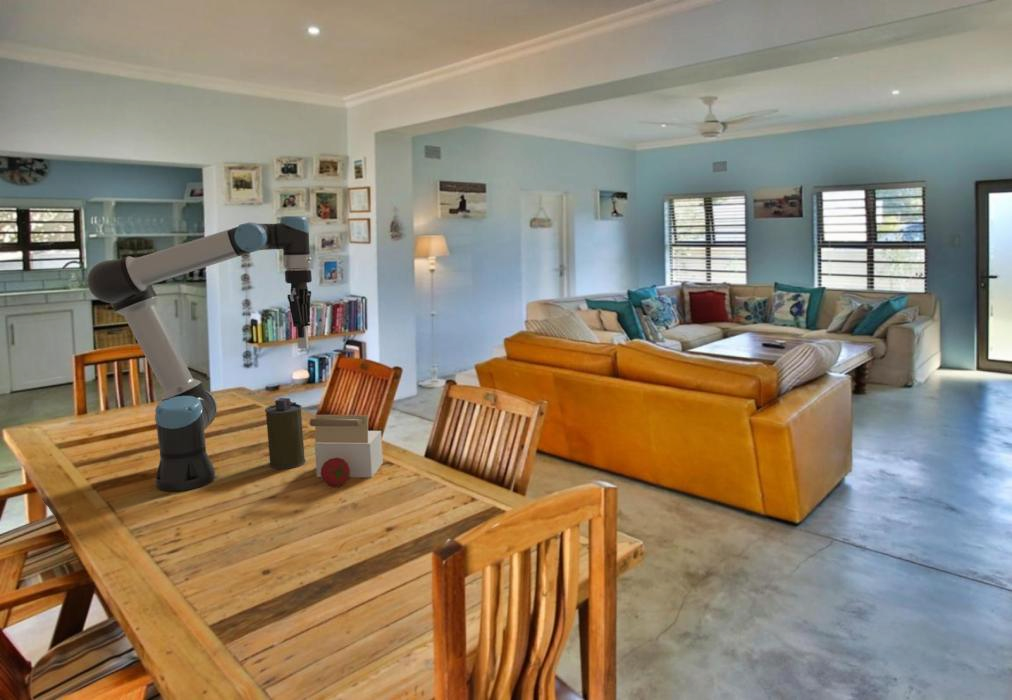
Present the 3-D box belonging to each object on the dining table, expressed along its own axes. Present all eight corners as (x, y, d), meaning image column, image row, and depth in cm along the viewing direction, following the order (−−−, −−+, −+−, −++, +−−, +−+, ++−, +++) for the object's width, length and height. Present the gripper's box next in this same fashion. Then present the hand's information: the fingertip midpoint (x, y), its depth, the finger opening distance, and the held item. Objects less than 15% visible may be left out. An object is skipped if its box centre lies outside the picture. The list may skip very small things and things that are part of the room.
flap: (316, 442, 189) (306, 445, 181) (316, 414, 189) (306, 417, 181) (368, 442, 187) (360, 446, 180) (368, 415, 187) (360, 417, 180)
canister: (294, 470, 196) (289, 404, 192) (262, 468, 198) (257, 403, 194) (312, 457, 206) (307, 395, 203) (281, 456, 209) (276, 394, 205)
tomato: (327, 451, 186) (335, 453, 179) (350, 464, 189) (359, 467, 182) (312, 477, 183) (319, 480, 177) (336, 490, 187) (344, 493, 180)
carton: (316, 476, 190) (314, 443, 189) (331, 462, 202) (328, 430, 200) (371, 477, 189) (369, 443, 187) (382, 462, 201) (381, 430, 199)
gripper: (301, 270, 191) (307, 351, 195) (318, 267, 204) (323, 344, 208) (276, 270, 191) (282, 351, 196) (294, 268, 204) (299, 344, 208)
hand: (303, 347), depth 202 cm, fingers closed
